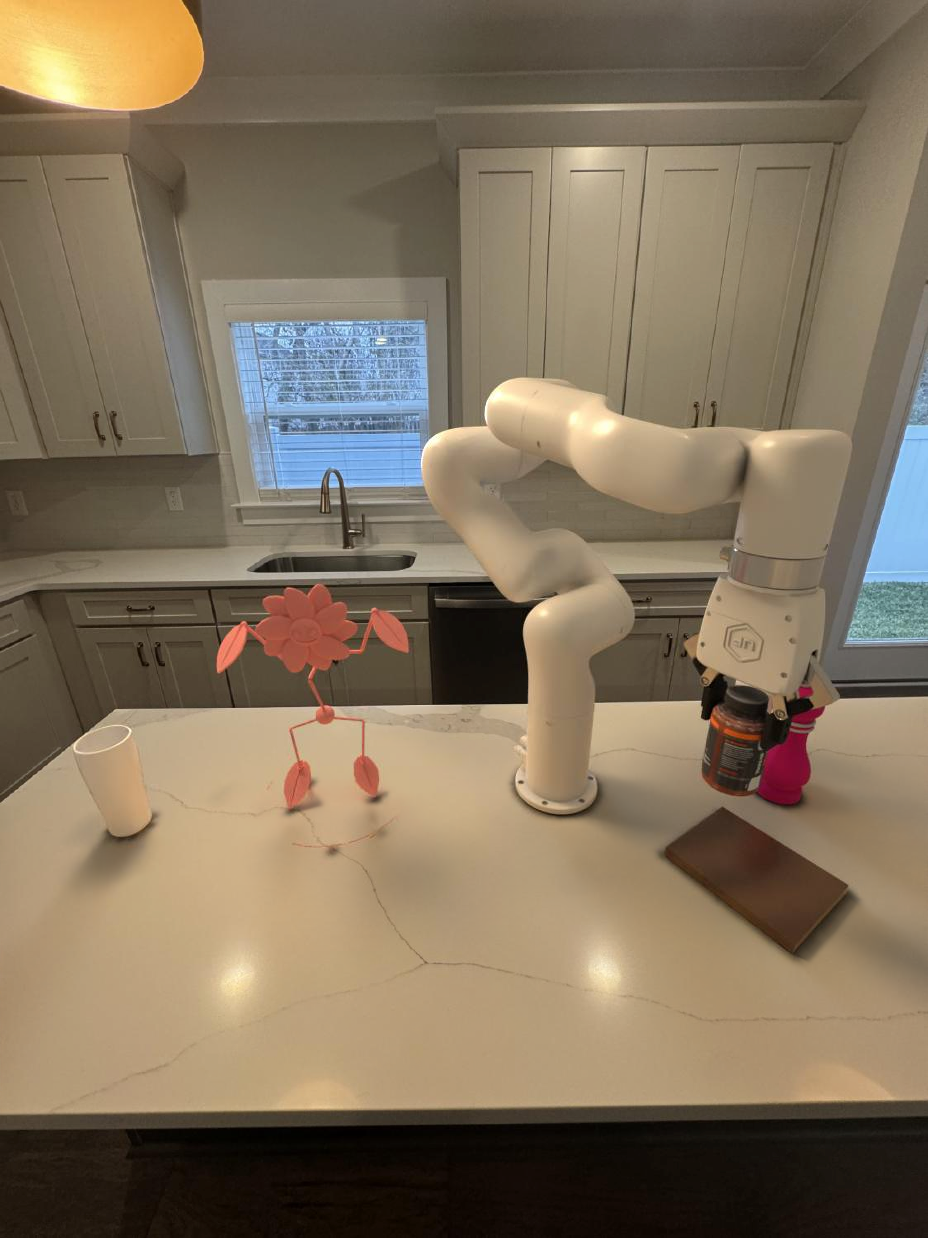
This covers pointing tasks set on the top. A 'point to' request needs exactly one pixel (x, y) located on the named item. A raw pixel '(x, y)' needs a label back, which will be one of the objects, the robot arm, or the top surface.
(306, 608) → the figurine
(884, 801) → the top surface
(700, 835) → the cutting board
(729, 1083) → the top surface
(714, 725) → the supplement bottle
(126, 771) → the drinking glass
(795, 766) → the pepper mill
